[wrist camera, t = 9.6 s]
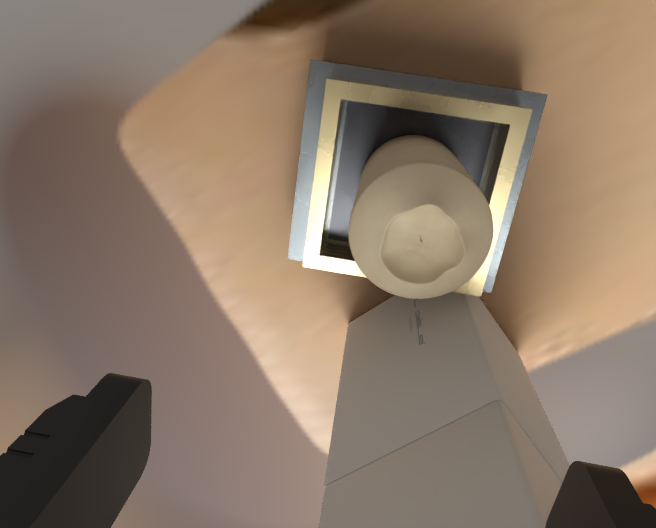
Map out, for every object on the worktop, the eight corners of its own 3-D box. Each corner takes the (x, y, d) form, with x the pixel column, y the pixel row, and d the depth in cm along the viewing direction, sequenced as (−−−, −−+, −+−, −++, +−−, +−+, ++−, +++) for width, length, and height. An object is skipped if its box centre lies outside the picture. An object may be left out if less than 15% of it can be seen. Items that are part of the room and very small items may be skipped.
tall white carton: (452, 258, 34) (592, 663, 11) (519, 353, 36) (757, 867, 13) (346, 322, 37) (278, 760, 14) (414, 408, 39) (455, 917, 16)
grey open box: (522, 90, 30) (563, 97, 23) (476, 262, 34) (500, 312, 27) (322, 60, 30) (303, 58, 24) (300, 233, 35) (279, 274, 28)
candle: (378, 119, 26) (373, 148, 17) (479, 152, 26) (528, 198, 17) (346, 217, 28) (326, 289, 19) (440, 247, 28) (465, 334, 19)
